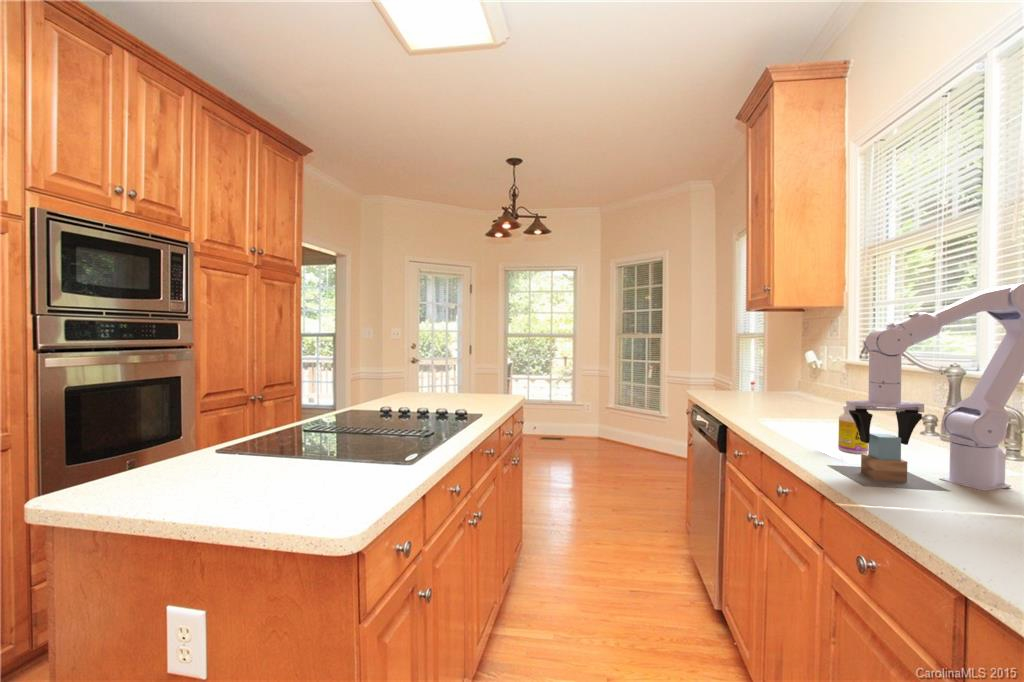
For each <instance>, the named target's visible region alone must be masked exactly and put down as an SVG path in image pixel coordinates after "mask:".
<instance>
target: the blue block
mask: <svg viewBox="0 0 1024 682" xmlns="http://www.w3.org/2000/svg"><path fill="white" fill-rule="evenodd" d="M867 454H868V455H870V456H872V457H874V458H876V459H879V460H895V461H901V459H902V444H901V438H899V437H898V436H896V435H893V434H890V433H875V432H873V433H870V441H869V443H868V453H867Z"/></svg>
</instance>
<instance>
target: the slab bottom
mask: <svg viewBox="0 0 1024 682" xmlns="http://www.w3.org/2000/svg"><path fill="white" fill-rule="evenodd" d="M860 467H861V473H863V474H865V475H867V476H869V477H871V478H873V479H875V480H882V481H900V482H907V472H908V471H907V472H901V471H882V470H875V469H873V468H871V467H869V466H867V465H865V464H862V463H861V462H860Z"/></svg>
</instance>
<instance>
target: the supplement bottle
mask: <svg viewBox="0 0 1024 682" xmlns="http://www.w3.org/2000/svg"><path fill="white" fill-rule="evenodd" d="M842 409H843V411H844V413H842V414H840V415H839V416H838V441H837V442H838V444H837V447H838V451H840V452H841V453H845V454H850V455H859V456H860V455H861V453H863V454H868V449H869V443H864V442H862V441H861V439H860V435H859V432H858V429H857V426H856V424H855V422H854V420H853V418H852V416H851V415H850V413H849V410H848V409H846V404H844V405H843V407H842Z"/></svg>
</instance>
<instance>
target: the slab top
mask: <svg viewBox="0 0 1024 682" xmlns="http://www.w3.org/2000/svg"><path fill="white" fill-rule="evenodd" d="M861 463H862V464H865V465H867V466H869V467H871V468H873V469H875V470H882V471H901V472H908V461H906V460H904V459H902V458H901V461H895V460H879V459H876V458H874V457H872V456H870V455H868V453H867V454H863V453H861V456H860V464H861Z"/></svg>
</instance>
